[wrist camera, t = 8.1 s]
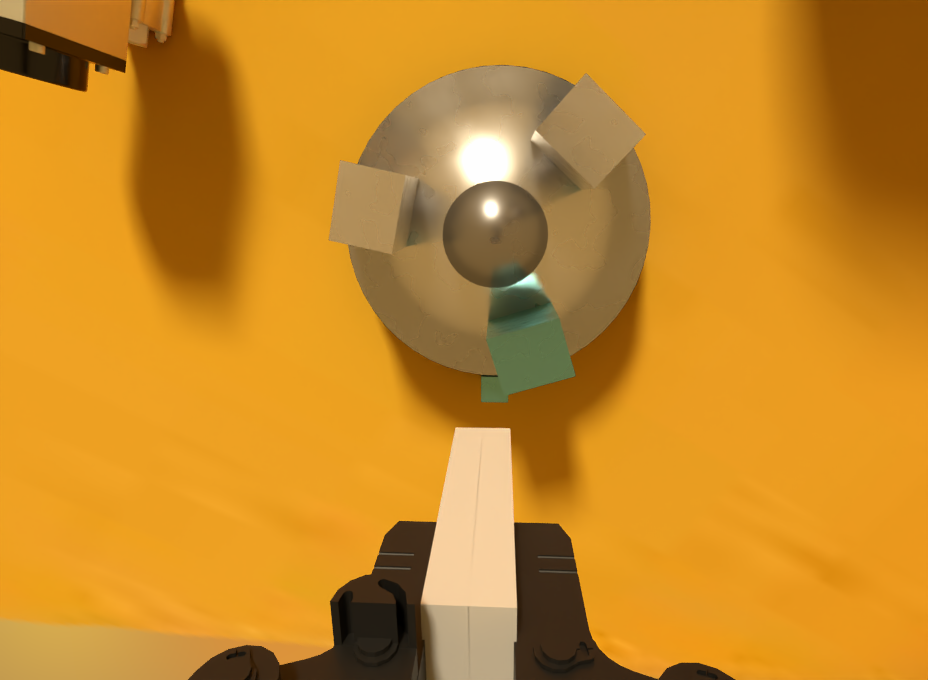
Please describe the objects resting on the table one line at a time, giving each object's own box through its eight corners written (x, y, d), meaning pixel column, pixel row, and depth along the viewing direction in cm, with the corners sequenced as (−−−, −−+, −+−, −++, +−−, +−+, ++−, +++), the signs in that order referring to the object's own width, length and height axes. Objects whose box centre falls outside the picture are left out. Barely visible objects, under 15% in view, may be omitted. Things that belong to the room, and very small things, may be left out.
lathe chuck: (314, 133, 29) (268, 117, 23) (600, 28, 27) (628, -18, 21) (409, 394, 33) (390, 436, 27) (668, 321, 31) (708, 350, 25)
